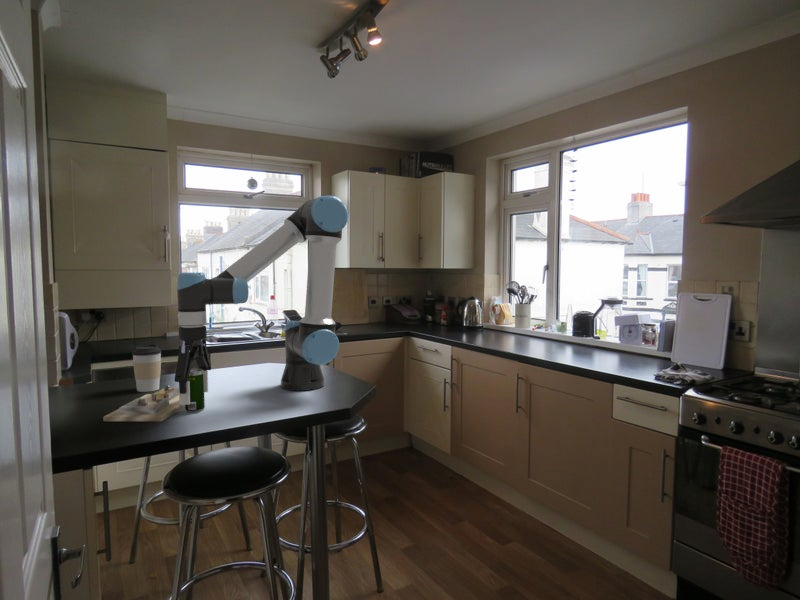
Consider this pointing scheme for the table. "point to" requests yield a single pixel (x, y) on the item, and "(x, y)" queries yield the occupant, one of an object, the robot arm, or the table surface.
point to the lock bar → (164, 391)
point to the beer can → (196, 391)
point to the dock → (147, 408)
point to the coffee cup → (147, 367)
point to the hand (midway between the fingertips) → (194, 398)
